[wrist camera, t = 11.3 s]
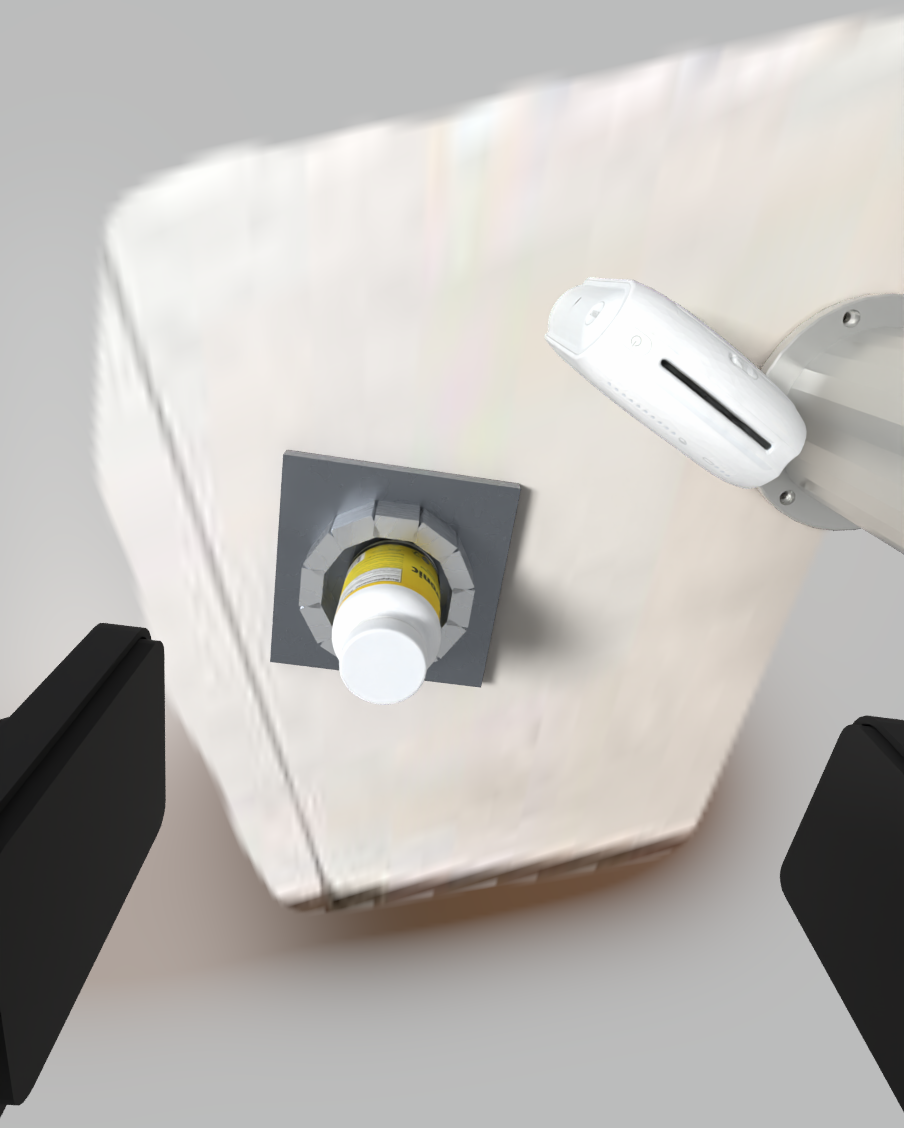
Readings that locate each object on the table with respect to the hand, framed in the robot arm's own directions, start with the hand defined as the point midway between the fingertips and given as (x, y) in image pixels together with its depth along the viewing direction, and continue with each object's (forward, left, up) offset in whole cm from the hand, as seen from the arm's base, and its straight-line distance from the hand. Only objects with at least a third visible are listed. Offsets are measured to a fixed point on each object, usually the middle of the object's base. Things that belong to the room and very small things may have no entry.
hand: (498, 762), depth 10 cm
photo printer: (-9, -3, -31) cm, 32 cm away
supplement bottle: (+2, +11, -30) cm, 32 cm away
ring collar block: (+2, +11, -30) cm, 32 cm away
